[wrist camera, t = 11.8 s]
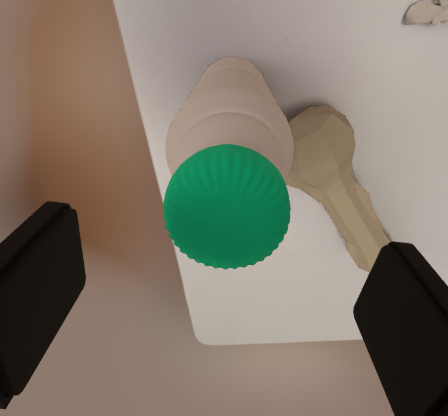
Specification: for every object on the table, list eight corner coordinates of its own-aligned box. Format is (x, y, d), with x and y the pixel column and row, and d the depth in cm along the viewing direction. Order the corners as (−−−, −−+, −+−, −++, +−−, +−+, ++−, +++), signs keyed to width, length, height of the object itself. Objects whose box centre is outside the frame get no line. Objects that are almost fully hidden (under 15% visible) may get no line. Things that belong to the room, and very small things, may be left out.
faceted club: (334, 74, 30) (415, 238, 41) (260, 117, 35) (351, 254, 46) (338, 113, 24) (433, 295, 35) (247, 159, 28) (356, 307, 39)
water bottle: (199, 126, 34) (138, 296, 13) (197, 55, 31) (108, 123, 9) (263, 128, 34) (311, 302, 13) (268, 57, 31) (350, 130, 9)
